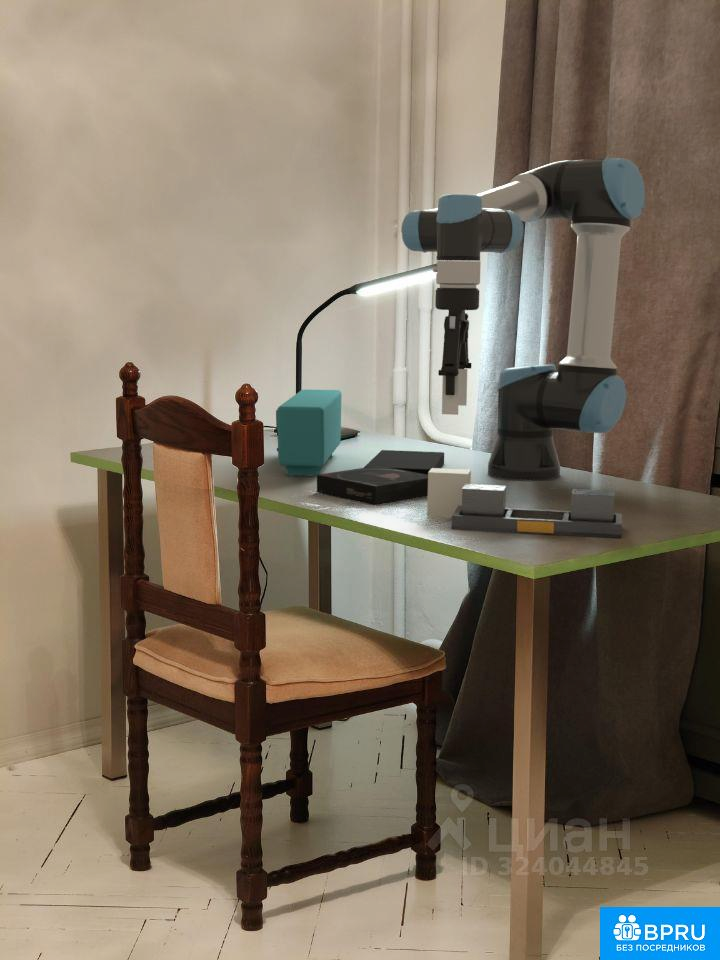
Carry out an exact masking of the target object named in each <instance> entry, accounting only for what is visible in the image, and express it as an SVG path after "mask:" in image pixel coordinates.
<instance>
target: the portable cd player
mask: <svg viewBox="0 0 720 960" xmlns="http://www.w3.org/2000/svg"><path fill="white" fill-rule="evenodd" d="M317 492H319V493H318V494H321V493H322V495H325V494H326V495H325V496H331V497H335V498H340V499H343V500H344V499H345V500H349V501H353V502H358V503H363V504H368V505H371V506H375V505H376V506H380V505H386V504H391V503H399V502H403V501H409V500H415V499H420V498H425V497H426V498H428V475H426V474H421V473H416V472H410V471H405V470H399V469H394V468H388V467H383V466H373V467H366V468H364V467H362V468H354V469H346V470H339V471H333V472H327V473H318V475H317V476H316V493H317Z"/></svg>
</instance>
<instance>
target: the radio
mask: <svg viewBox="0 0 720 960" xmlns="http://www.w3.org/2000/svg"><path fill="white" fill-rule="evenodd" d="M275 427H276V430H277V448H276V452H277V457H278V458H277V462H278V464H279V465H280V466H285V469H286V474H287V476H288V475H319V474H320V473H319V472H320V469H321V467H323V466H324V465H325V464H326V462H328V460H329V458H332V457H333V453H334V452H335V451H336V449H337V448H338V447H339V445H340V444H341V442H342V441H341V440H342V439H341V438H342V437H341V436H342V435H341V434H342V391H341V390H338V389H337V390H336V389H301V390H300V391H298V392H297V393H296V394H295V395H293V396H292V397H290V398H289V399H287V400H286V401H284V402H283V403H282V404H281V405H279V406H278V407H277V409H276V410H275Z"/></svg>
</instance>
